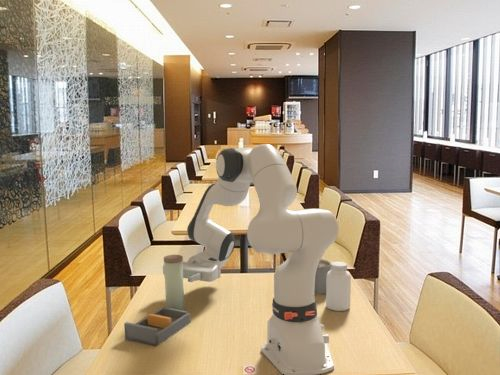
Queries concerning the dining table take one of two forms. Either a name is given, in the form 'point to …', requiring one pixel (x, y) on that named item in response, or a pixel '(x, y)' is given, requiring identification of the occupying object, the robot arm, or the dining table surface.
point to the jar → (174, 281)
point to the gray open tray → (153, 333)
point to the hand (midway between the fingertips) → (177, 277)
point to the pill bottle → (338, 287)
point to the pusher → (158, 320)
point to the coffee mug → (321, 276)
